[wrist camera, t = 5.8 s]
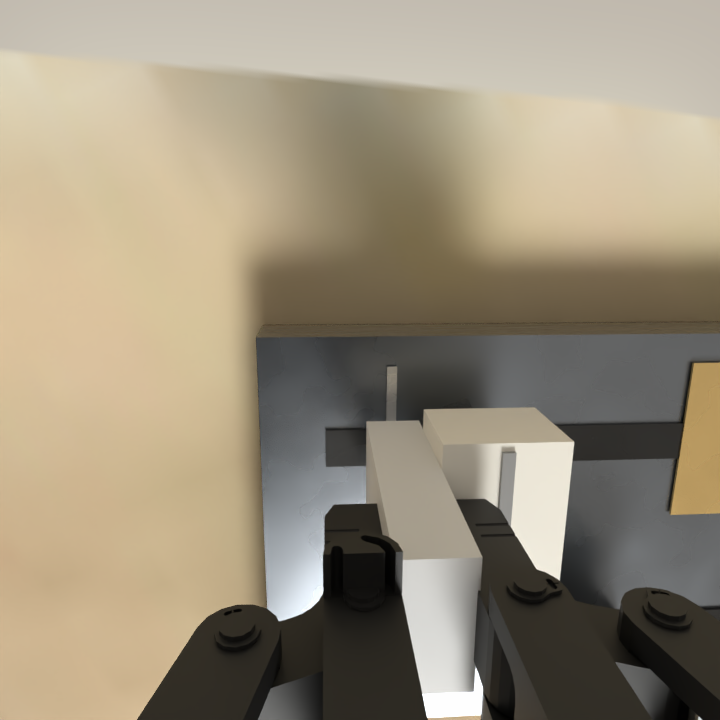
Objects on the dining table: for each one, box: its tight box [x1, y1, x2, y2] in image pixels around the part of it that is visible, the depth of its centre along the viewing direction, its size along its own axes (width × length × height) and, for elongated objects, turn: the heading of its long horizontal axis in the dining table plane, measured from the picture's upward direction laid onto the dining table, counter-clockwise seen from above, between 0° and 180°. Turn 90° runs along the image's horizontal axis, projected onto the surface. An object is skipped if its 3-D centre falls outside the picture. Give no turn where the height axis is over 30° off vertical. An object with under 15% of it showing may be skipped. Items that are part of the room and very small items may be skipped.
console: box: [256, 322, 720, 718], centre depth 20 cm, size 22×14×2 cm, turn 90°
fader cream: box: [423, 407, 574, 581], centre depth 15 cm, size 3×4×4 cm
